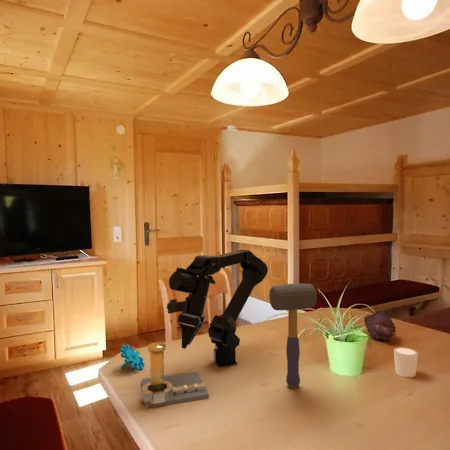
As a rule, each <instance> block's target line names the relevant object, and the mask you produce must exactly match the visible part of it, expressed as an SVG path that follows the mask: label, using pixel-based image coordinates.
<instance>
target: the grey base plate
mask: <svg viewBox="0 0 450 450" xmlns="http://www.w3.org/2000/svg"><path fill="white" fill-rule="evenodd" d="M164 381H168V382H171V383H172V386H176V387H179V386H182V385H192V384H193V383H198V384H199V383H204V382H203V380H202V378H201V377H200V374H199V372H198V371H190V372H184V373H183V372H182V373H177V374H176V373H175V374H169V375H164ZM148 382H151V380H150V377H148V378H147V377H146V378H142V379H141V387H142V386H144V385H145V384H147V383H148ZM209 397H210V395H209V392H208V390H207V389H206V390H204V391H195V392H191V393H184V394H178V395H176V394H175V395H173V397H172V398H170V399H169V400H168V401H166V402H163V403H156V404H151V403H148V402H145V401H144V405H145V406H144V407H145V409H148V408H155V407H159V406H160V407H161V406H166V405H173V404H179V403H184V402H190V401H197V400H205V399H209Z"/></svg>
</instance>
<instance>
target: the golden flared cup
mask: <svg viewBox="0 0 450 450" xmlns="http://www.w3.org/2000/svg"><path fill="white" fill-rule="evenodd" d="M166 347H167V346H166V343H165V342H162V341H157V342H156V341H155V342H151V343H149V344H147V351H148V352H149V364H150V365H149V366H150V370H149V371H150V376H151V391H152V392H159V391H163V390H164V376H165V362H164V361H165V360H164V359H165V358H164V351H165V350H166Z"/></svg>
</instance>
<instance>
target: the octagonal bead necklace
mask: <svg viewBox="0 0 450 450" xmlns="http://www.w3.org/2000/svg"><path fill="white" fill-rule="evenodd" d="M149 378H150V380H151V375H150V377H149ZM204 390H207V388H206V384H205V383H204V382H203V383H199V384H198V383H193V384H192V385H182V386H179V387H176V386H172V383H171V382H168V381H164V390H163V391H159V392H152V391H151V382H148V383H147V384H145V385H144V386H142V385H141V396H142V401H143V402H144V403H145V402H148V403H151V404H156V403H163V402H166V401H168V400H169V399H170V398H172V397H173V395H175V394H176V395H178V394H184V393H191V392H195V391H204Z"/></svg>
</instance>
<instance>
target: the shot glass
mask: <svg viewBox="0 0 450 450" xmlns="http://www.w3.org/2000/svg"><path fill="white" fill-rule="evenodd" d="M393 356H394V357H393V359H394V368H395V373H396V374H397V375H398V376H400V377H403V378H414V377H416V375H417V367H418V360H419V359H418V357H419V352H418V351H416V350H415V349H413V348H409V347H395V348H394V349H393Z"/></svg>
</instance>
